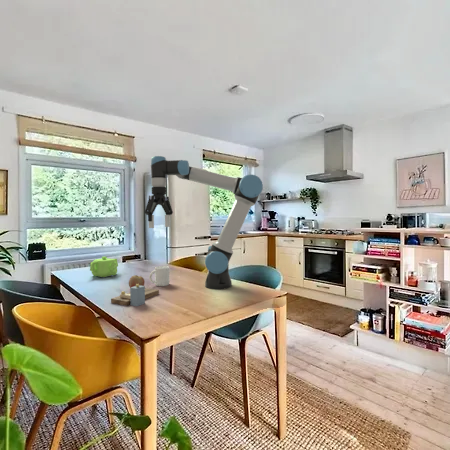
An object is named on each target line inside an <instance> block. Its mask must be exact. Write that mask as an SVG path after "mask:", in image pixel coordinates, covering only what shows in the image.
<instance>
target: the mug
mask: <svg viewBox="0 0 450 450" xmlns="http://www.w3.org/2000/svg"><path fill="white" fill-rule="evenodd" d="M153 274H154V280H153ZM148 279H149V281H150V282H151V283H152V284H155V286H157V287H167V286H169V285H170V281H171V280H170V266H168V265H160V266H155V267H154V270H152V271H151V272H150V273H149V276H148Z"/></svg>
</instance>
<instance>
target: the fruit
mask: <svg viewBox="0 0 450 450" xmlns="http://www.w3.org/2000/svg"><path fill="white" fill-rule="evenodd" d="M145 283H146V281H145V278H144V277H143V276H142V275H141V276H140V275H138V274H137V275H135V274H134V275H132V276H131V277H130V278H129V280H128V287H129V288H131V287H134V286H136V284H139V285H140V286H145Z"/></svg>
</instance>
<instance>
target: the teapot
mask: <svg viewBox="0 0 450 450" xmlns="http://www.w3.org/2000/svg"><path fill="white" fill-rule="evenodd" d="M118 267H119V264H118V258H109V257H108V256H101V258H97V259H94V260H93V261H91V262H90V266H89V271H91V275H92V276H93V277H96V276H98V277H101V278H102V277H104V278H106V277H112V276H111V275H113V276H115V275H117V274H118Z"/></svg>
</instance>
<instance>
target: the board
mask: <svg viewBox="0 0 450 450" xmlns="http://www.w3.org/2000/svg"><path fill="white" fill-rule="evenodd" d="M126 294H130V292H128V293H126ZM159 294H160V290H159V289H154V288H148V287H147V288H146V287H145V300H147V299H149V298H151V297H154V296H157V295H159ZM110 303H111V304H114V305H120V306H124V307H125V306H131V305H130V299H127V298H122V297H120V295H118V296H115V297H112V298H110Z"/></svg>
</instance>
